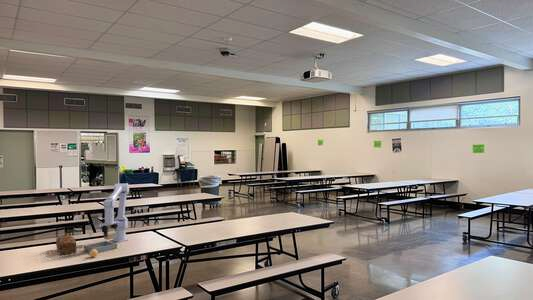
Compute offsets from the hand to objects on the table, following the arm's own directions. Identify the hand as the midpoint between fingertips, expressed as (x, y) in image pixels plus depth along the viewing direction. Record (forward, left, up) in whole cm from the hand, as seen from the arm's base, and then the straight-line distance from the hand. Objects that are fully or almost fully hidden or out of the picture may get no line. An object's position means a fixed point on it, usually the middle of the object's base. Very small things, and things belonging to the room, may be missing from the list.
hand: (109, 235), depth 247 cm
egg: (+11, -17, -9) cm, 23 cm away
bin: (-2, -5, -9) cm, 11 cm away
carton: (0, 0, -2) cm, 2 cm away
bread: (-18, -21, -9) cm, 29 cm away
